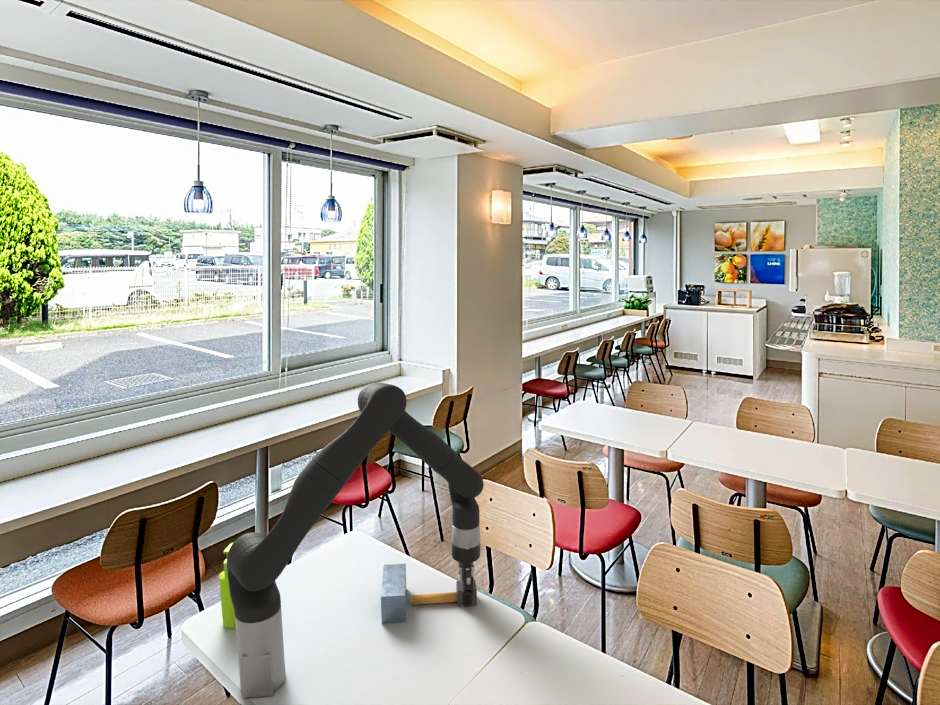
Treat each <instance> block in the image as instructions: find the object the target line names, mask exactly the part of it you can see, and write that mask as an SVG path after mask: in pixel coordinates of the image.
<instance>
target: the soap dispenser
mask: <svg viewBox="0 0 940 705" xmlns="http://www.w3.org/2000/svg"><path fill="white" fill-rule="evenodd" d="M234 542H235V541H233V542H230V543H229V545H228V546H227V547H225V549H224V550H223V553H222V554H225V555H226V557H227V556H228V552H229V549H230V547H231V546H232V544H233V543H234ZM218 580H219V594H220V605H221V616H222V617H221V618H222V626H223V625H224V626H223V627H224V628H225V627H226V629H232V628H234V629H236V623H235V613H234V607H233V603H232V600H231V596H230V589H229V580H228V571H227V558H226V559H224V560H223V571H222V572H220V574H219V575H218ZM232 630H233V629H232Z"/></svg>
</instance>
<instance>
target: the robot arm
mask: <svg viewBox="0 0 940 705" xmlns="http://www.w3.org/2000/svg"><path fill="white" fill-rule="evenodd" d="M407 402H408V401H407V395H406V393H405V392H404V390H403V389H402V388H400V387H399V386H397V385H394V384H389V383H385V382H372V383H369V384H367V385H365V386H364V387H363V388H362V389H360V390H359V394H358V396H357V406H358V409H359V411H360V413H359V415H358V416H357V418H356V419H355V420H354V422H353V423H352V424H351V425H350V426H349V427H348V428H347V429H346V430H345V431H344V432H343V433H341V434H340V435H339V436H337V437H336V438H334V439H333V440H332V441H330V442H329V443H328V444H326V445H325V446H324V447H323V448H322V449H320V450H319V451H318V452H317V453H316V454H314V456H313V457H312V458H311V459H310V461H309V462H308V463H307V464H306V466H305V467H304V468H303V469H302V471H301V472H300V473H299V475H298V476H297V478H296V479H295V480H294V483H293V484H292V487H291V490H290V492H289V494H288V497H287V498H288V499H287V500H286V504H285V506H284V509H283V511H282V514H281V515H280V517H279V519H277V522H276V523H275V524H274V526H273V527H272V528H271V529H270V531H269V532H268V533H267V535H264V534H262V533H261V532H255V531H254V532H246V533H244V534H242V535H241V536H239V537H237V538H236V539H235V541H233V542H234V543H233V544H232V546H231V547H230V549H229V552H228V556H227V555H226V559H227V571H228V580H229V589H230V596H231V600H232V603H233V607H234V613H235V623H236V628H235V635H236V637H235V638H236V647H237V648H236V649H237V658H238V670H239V673H238V674H239V682H240V685H239V686H240V690H241V692H242V698H243V699H244V698H259V697H272V696H273V695H274V694H275V692H276V691H277V690H279V688H280V687H281V686H282V685H283V684H284V683H285V681H286V676H287V675H286V674H287V673H286V661H285V660H286V658H285V647H284V645H285V644H284V633H283V632H284V631H283V630H284V628H283V615H282V601H281V600H282V599H281V592H280V590H279V588H278V586H277V583H276V580H277V579H278V578H279V576H281V574H282V573H283V571H284V570H285V568H286V567H287V565H288V564H289V562H290V560H291V559H292V557H293V555H294V554H295V552H296V551H297V549H298V548H299V546H300V545H301V543H302V541H303V540H304V539H305V537H306V536H307V534H308V533H309V532H310V530H311V529H312V528H313V526H314V525H315V524H316V523H317V521H318V520H319V518H320V517H321V516H322V514H323V513H324V512H325V511H326V509H327V508H328V507H329V505H330V504H331V503H332V502H333V501H334V500H335V499H336V497H337V496H338V494H340V492H341V491H342V490H343V488H344V486H345V485H346V484H347V482H348V481H349V480H350V479H351V477H352V476H353V474H354V473H355V472H356V470H358V468H359V467H360V465H362V463H363V462H364V460H365V459H367V456H368V455H369V454H370V453H371V451H372V450H373V448H374V447H375V446H376V445H377V444H378V443H379V442H380V441H381V440H382V438H383V437H384V436H385V435H386V434H388V432H389V433H391V434H392V435H393V436H395V437H396V438H397V439H398V440H399V441H401V442H402V443H403V444H404V445H405V446H406V447H408V449H410V450H411V451H412V452H413V453H414V454H415V455H416V456H417V457H419V459H421V461H423V463H425V464H426V465H427V466H428V467H429V468H431V470H433V471H434V472H436V473H437V474H438V475H439V476H441V477H442V478H443V480H444V479H445V481H446V482H447V483H448V484H447V485H448V489H449V495H450V502H451V506H452V511H451V512H452V520H451V521H452V526H451V557H452V559H453V560H454V561H456V562H457V564H458V574H459V581H460V582H461V584H462V592H463V605H464V606H463V607H466V606H467V607H468V606H469V605H470V606H472V605H471V595H473V583H474V580H475V579H474V576H475V574H474V573H475V564H474V562H476V561H478V560H479V559H480V557H481V527H480V526H481V525H480V506H479V503H478V502H477V500H476V498H477V497H479V496H480V495H481V493H482V492H483V490H484V487H485V486H484V478H483V477H482V475H481V473H480V472H478V471H477V470H476V469H475V468H473V467H472V466H471V465H470V464H468V463H467V462H466V461H465V460H463V458H461V457H460V455H459V454H458V453H457V452H456V451H455V450H454V449H453V448H452V447H451V446H450V445H449V444H448V443H447V442H446V441H445V440H443V438H441V437H440V436H439V435H438V434H436V433H435V432H433V431H432V430H430V429H429V428H428V427H426V426H425V425H423V424H422V423H421V422H419V421H418V420H417V419H416V418H414V417H413V416H412V415H410V414H409V412H407V411H406V408H407Z"/></svg>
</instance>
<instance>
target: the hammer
mask: <svg viewBox="0 0 940 705" xmlns="http://www.w3.org/2000/svg"><path fill="white" fill-rule="evenodd" d="M455 581H456V589H455V590H456V591H455V592H454V591H453V592H440V593H439V592H438V593H437V592H436V593H422V594H411V605H413V606H415V605H416V606H417V605H430V604H432V605H433V604H442V603H443V604H446V603H457V607H465V606H464V605H463V592H462V584H461V582H460V580H455ZM477 597H478V589H477V584H476V580H475V579H474V583H473V595H471V605H470V606H478V598H477Z"/></svg>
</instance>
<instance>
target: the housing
mask: <svg viewBox="0 0 940 705" xmlns="http://www.w3.org/2000/svg"><path fill="white" fill-rule="evenodd" d="M382 568H383V569H382V581H381V591H380V610H381V612H380V616H381V624H382V625H387V624H400V623H407V608H406V607H407V605H406V604H407V603H406V601H407V600H406V599H407V563H391V564H383V567H382Z"/></svg>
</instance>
